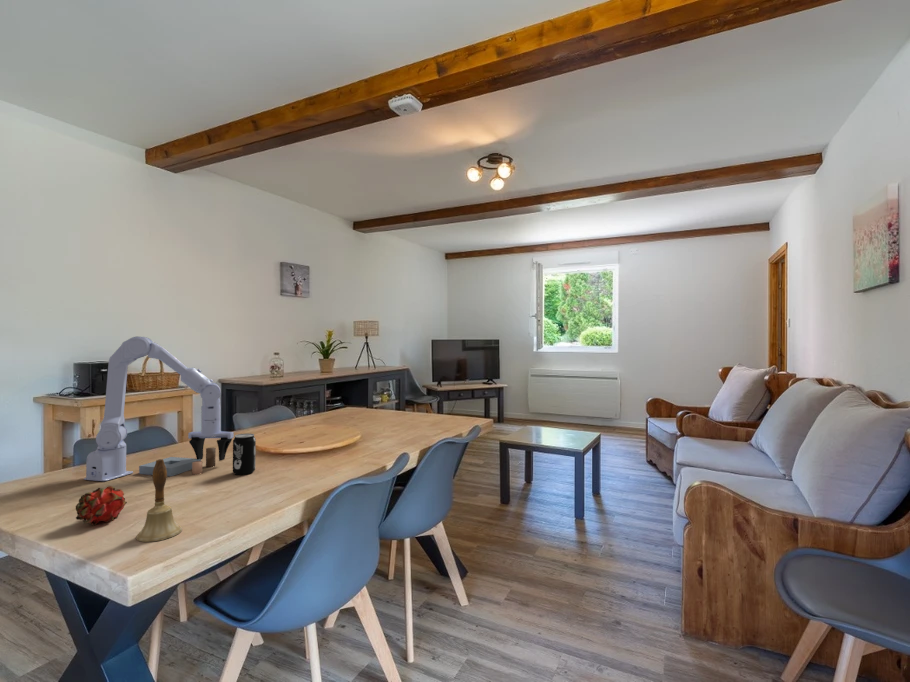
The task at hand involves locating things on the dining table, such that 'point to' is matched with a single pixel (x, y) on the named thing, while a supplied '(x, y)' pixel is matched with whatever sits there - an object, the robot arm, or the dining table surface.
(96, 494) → the dragon fruit
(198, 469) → the short pin
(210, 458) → the long pin
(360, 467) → the dining table surface
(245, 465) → the beverage can
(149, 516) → the hand bell
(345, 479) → the dining table surface
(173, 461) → the hole block
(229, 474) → the dining table surface
